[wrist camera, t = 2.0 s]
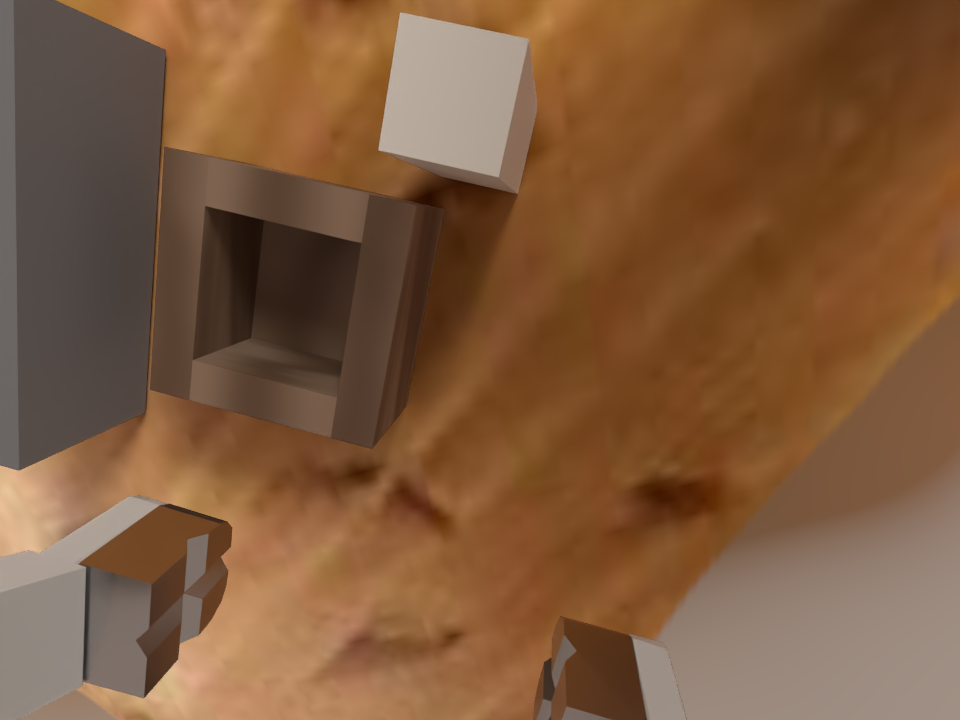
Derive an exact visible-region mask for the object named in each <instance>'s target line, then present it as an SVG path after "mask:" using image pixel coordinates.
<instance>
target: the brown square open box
mask: <svg viewBox="0 0 960 720" xmlns="http://www.w3.org/2000/svg"><path fill="white" fill-rule="evenodd" d="M444 211H445V209H442V208H438V207H433V206H429V205H425V204H420V203H416V202H412V201H407V200H403V199H399V198H395V197H390V196H386V195H382V194H377V193H373V192H369V191H364V190H360V189H356V188H351V187H347V186H343V185H338V184H334V183H330V182H325V181H321V180H317V179H313V178H308V177H304V176H300V175H295V174H291V173H287V172H282V171H278V170H274V169H269V168H265V167H261V166H256V165H252V164H248V163H244V162H239V161H234V160H229V159H223V158H218V157H213V156H208V155H203V154H198V153H193V152H188V151H183V150H178V149H173V148H168V147H164V161H163V178H162V195H161V212H160V229H159V246H158V263H157V280H156V297H155V314H154V331H153V348H152V365H151V382H150V390H153V391H157V392H160V393H164V394H168V395H172V396H175V397H179V398H183V399H187V400H190V401H194V402H198V403H202V404H205V405H209V406H213V407H217V408H221V409H224V410H228V411H232V412H236V413H239V414H243V415H247V416H251V417H254V418H258V419H262V420H266V421H269V422H273V423H277V424H281V425H284V426H288V427H292V428H296V429H299V430H303V431H307V432H311V433H314V434H318V435H322V436H326V437H329V438H333V439H337V440H341V441H344V442H348V443H352V444H356V445H359V446H363V447H367V448H371V449H372V448H373V447H374V446H375V445H376V443H377V442H378V441H379V440H380V438H381V437H382V436H383V435H384V433H385V432H386V431H387V430H388V428H389V427H390V426H391V425H392V423H393V422H394V421H395V420H396V418H397V417H398V416H399V415H400V413H401V412H402V411H403V410H404V408H405V407H406V404H407V399H408V394H409V389H410V384H411V379H412V374H413V369H414V364H415V358H416V353H417V348H418V343H419V338H420V333H421V328H422V323H423V318H424V313H425V308H426V303H427V297H428V292H429V287H430V282H431V277H432V272H433V267H434V262H435V257H436V252H437V247H438V242H439V236H440V231H441V226H442V221H443V216H444Z"/></svg>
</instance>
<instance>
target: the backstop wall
mask: <svg viewBox="0 0 960 720" xmlns="http://www.w3.org/2000/svg"><path fill="white" fill-rule="evenodd" d="M165 54H166V50H164V49H162V48H160V47H158V46H156V45H153V44H151V43H149V42H147V41H144V40H142V39H140V38H138V37H136V36H133V35H131V34H129V33H127V32H124V31H122V30H120V29H118V28H116V27H113V26H111V25H109V24H107V23H104V22H102V21H100V20H98V19H96V18H93V17H91V16H89V15H87V14H84V13H82V12H80V11H78V10H76V9H73V8H71V7H69V6H67V5H64V4H62V3H60V2H58V1H56V0H0V465H1V466H4V467H8V468H12V469H15V470H21V469H23V468H26V467H28V466H30V465H32V464H34V463H36V462H39V461H41V460H43V459H45V458H47V457H49V456H52V455H54V454H56V453H58V452H60V451H63V450H65V449H67V448H69V447H71V446H73V445H76V444H78V443H80V442H82V441H84V440H86V439H89V438H91V437H93V436H95V435H97V434H99V433H102V432H104V431H106V430H108V429H110V428H112V427H115V426H117V425H119V424H121V423H123V422H125V421H128V420H130V419H132V418H134V417H136V416H138V415H141V414H143V413H145V406H146V388H147V370H148V353H149V335H150V318H151V300H152V282H153V265H154V247H155V230H156V212H157V195H158V177H159V159H160V142H161V124H162V107H163V89H164V72H165Z"/></svg>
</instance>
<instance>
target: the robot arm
mask: <svg viewBox="0 0 960 720" xmlns="http://www.w3.org/2000/svg"><path fill="white" fill-rule="evenodd" d="M231 539H232V527H231V525H230V524H229V523H228V522H227V521H224V520H221V519H217V518H214V517H211V516H208V515H204V514H201V513H198V512H195V511H191V510H188V509H185V508H182V507H178V506H175V505H172V504H166V503H164V502H161V501H157V500H154V499H151V498H147V497H144V496H141V495H137V496H129V497H127V498H126V499H124V500H122V501H121V502H119V503H118V504H116V505H115V506H113V507H111V508H110V509H108V510H107V511H105V512H104V513H102V514H100V515H99V516H97V517H96V518H94V519H93V520H91V521H89V522H88V523H86V524H85V525H83V526H82V527H80V528H78V529H77V530H75V531H74V532H72V533H71V534H69V535H67V536H66V537H64V538H63V539H61V540H60V541H58V542H56V543H55V544H53V545H52V546H50V547H49V548H47V549H45V550H44V551H42V552H41V553H37V552H33V551H30V550H28V551H24V552H20V553H16V554H12V555H8V556H3V557H0V720H18V719H20V718H22V717H24V716H26V715H28V714H30V713H31V712H34V711H35V710H37V709H39V708H41V707H43V706H45V705H47V704H49V703H51V702H52V701H54V700H56V699H58V698H60V697H62V696H64V695H66V694H68V693H70V692H72V691H74V690H75V689H77V688H79V687H81V686H82V685H83V682H86V683H90V684H93V685H97V686H101V687H104V688H108V689H112V690H115V691H119V692H123V693H126V694H130V695H134V696H137V697H141V698H145V697H146V695H147V694H148V693H149V692H150V691H151V690H152V689H153V687H154V686H155V685H156V684H157V683H158V682H159V681H160V679H161V678H162V677H163V676H164V675H165V674H166V672H167V671H168V670H169V669H170V668H171V667H172V666H173V664H174V663H175V662H176V661H177V660H178V655H179V645H180V643H182V642H184V641H186V640H189V639H191V638H193V637H196V636H198V635H199V634H200V633H201V632H202V631H203V629H204V628H205V627H206V626H207V625H208V623H209V622H210V621H211V619H212V618H213V616H214V614H215V612H216V610H217V608H218V607H219V605H220V603H221V601H222V598H223V595H224V591H225V588H226V585H227V577H228V570H227V568H226V566H225V564H224V562H223V560H222V558H221V556H222V555H223V554H224V553H225V552H226V551H227V550H228V549H229V548H230V547H231ZM533 720H687V718H686V714H685V710H684V707H683V703H682V700H681V696H680V693H679V689H678V685H677V682H676V679H675V675H674V672H673V667H672V664H671V661H670V657H669V653H668V650H667V647H666V646H665V645H664V644H663V643H662V642H659V641H655V640H652V639H648V638H644V637H640V636H636V635H632V634H623V633H620V632H616V631H613V630H609V629H605V628H602V627H598V626H595V625H591V624H587V623H584V622H580V621H576V620H573V619H569V618H566V617H562V616H560V618H559V620H558V622H557V624H556V627H555V630H554V633H553V636H552V658H550V659H549V660H547V661H546V662H544V665H543V668H542V672H541V675H540V679H539V683H538V687H537V692H536V697H535V703H534V712H533Z"/></svg>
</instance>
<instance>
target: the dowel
mask: <svg viewBox="0 0 960 720" xmlns="http://www.w3.org/2000/svg"><path fill="white" fill-rule="evenodd" d="M537 110H538V105H537V98H536V90H535V82H534V74H533V67H532V59H531V51H530V43H529V39H527V38H522V37H517V36H512V35H507V34H503V33H498V32H493V31H488V30H483V29H478V28H473V27H469V26H464V25H459V24H454V23H449V22H444V21H440V20H435V19H430V18H425V17H420V16H415V15H411V14H406V13H401V12H400V17H399V24H398V30H397V36H396V42H395V49H394V55H393V61H392V67H391V74H390V80H389V86H388V92H387V99H386V105H385V111H384V118H383V124H382V130H381V136H380V143H379V149H378V150H379V151H382V152H384V153H386V154H389V155H391V156H393V157H396V158H398V159H400V160H403V161H405V162H408V163H410V164H412V165H415V166H417V167H419V168H422V169H424V170H426V171H429V172H431V173H433V174H436V175H438V176H441V177H445V178H450V179H454V180H458V181H463V182H467V183H472V184H476V185H480V186H485V187H489V188H494V189H498V190H502V191H507V192H511V193H516V194H518V192H519V188H520V184H521V179H522V175H523V171H524V166H525V162H526V158H527V153H528V149H529V145H530V140H531V136H532V131H533V127H534V123H535V118H536V114H537Z"/></svg>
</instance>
